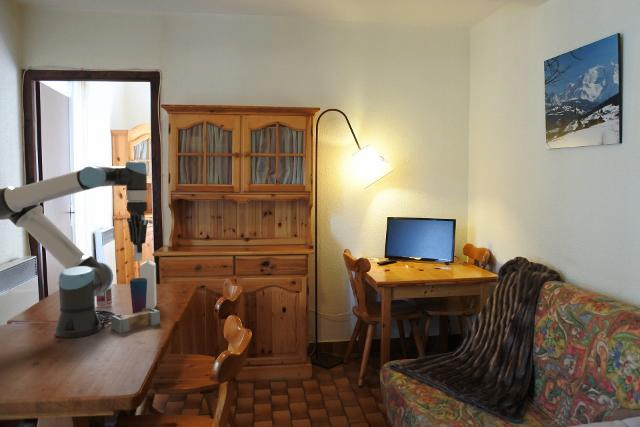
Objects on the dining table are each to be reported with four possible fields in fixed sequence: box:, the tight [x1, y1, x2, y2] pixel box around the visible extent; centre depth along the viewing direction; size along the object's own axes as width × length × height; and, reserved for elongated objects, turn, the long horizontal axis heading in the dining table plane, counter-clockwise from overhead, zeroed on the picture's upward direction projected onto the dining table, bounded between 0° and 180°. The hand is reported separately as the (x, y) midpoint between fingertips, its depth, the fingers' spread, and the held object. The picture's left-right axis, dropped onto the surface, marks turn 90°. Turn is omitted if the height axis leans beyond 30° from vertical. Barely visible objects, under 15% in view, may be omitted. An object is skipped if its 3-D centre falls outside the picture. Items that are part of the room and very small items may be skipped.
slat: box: [119, 310, 152, 331], centre depth 191 cm, size 12×4×5 cm, turn 139°
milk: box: [139, 256, 157, 309], centre depth 218 cm, size 6×6×22 cm
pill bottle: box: [95, 285, 113, 308], centre depth 219 cm, size 6×6×11 cm
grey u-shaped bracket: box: [110, 313, 130, 334], centre depth 187 cm, size 4×7×5 cm, turn 47°
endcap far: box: [142, 308, 161, 326], centre depth 196 cm, size 4×7×5 cm, turn 47°
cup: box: [129, 277, 147, 314], centre depth 206 cm, size 7×7×15 cm
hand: (138, 260), depth 196 cm, fingers closed
